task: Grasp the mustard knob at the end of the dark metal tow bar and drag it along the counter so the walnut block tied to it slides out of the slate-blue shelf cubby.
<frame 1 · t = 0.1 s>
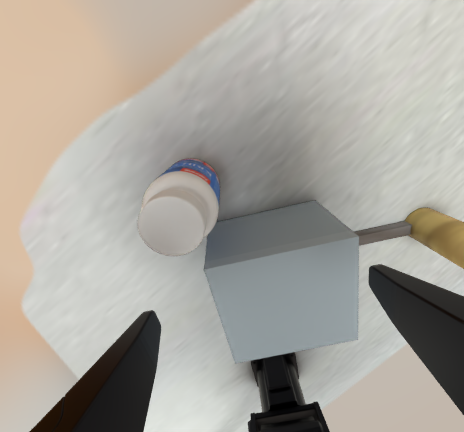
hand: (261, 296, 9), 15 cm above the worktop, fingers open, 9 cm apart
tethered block: (288, 250, 26), on the worktop
pill bottle: (192, 184, 22), on the worktop
shelf cubby: (275, 253, 26), on the worktop
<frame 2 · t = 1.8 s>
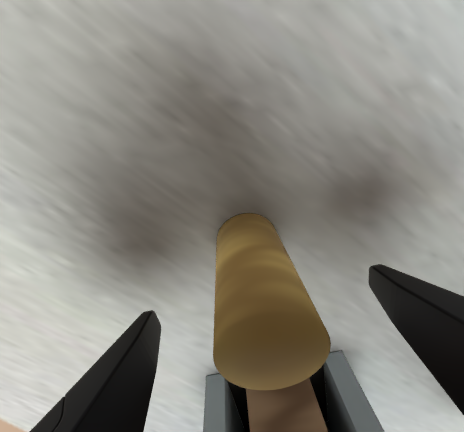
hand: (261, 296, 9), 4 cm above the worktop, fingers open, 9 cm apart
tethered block: (278, 389, 19), on the worktop
shelf cubby: (280, 399, 20), on the worktop
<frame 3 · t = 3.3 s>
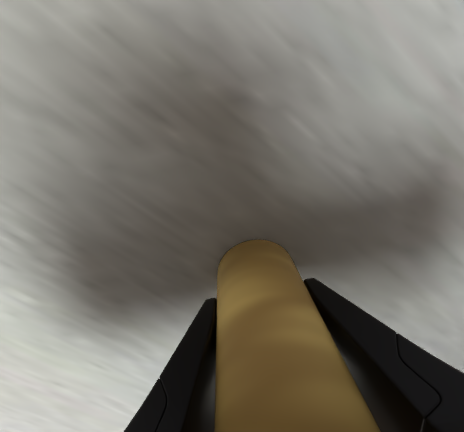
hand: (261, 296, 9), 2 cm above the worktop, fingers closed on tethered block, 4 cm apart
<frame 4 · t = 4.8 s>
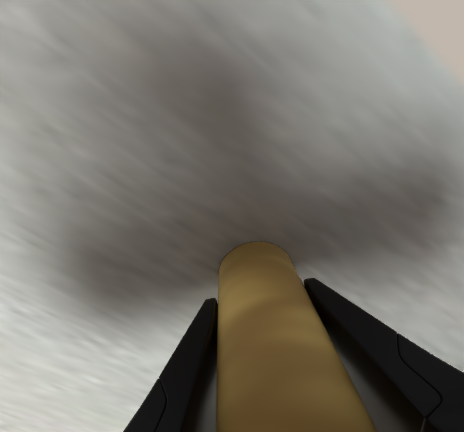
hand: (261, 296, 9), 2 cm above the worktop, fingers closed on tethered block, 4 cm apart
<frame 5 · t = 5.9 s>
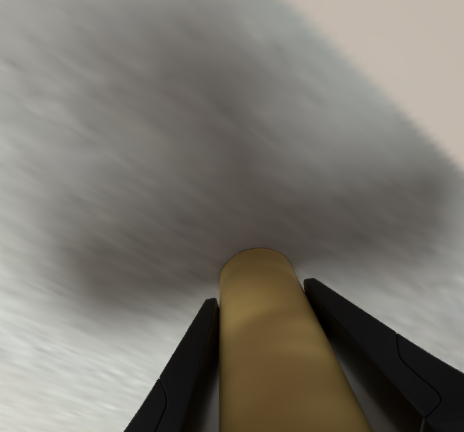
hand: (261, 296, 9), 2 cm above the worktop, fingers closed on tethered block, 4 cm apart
when the fingers open (2 cm above the worktop, at t = 6.5 s): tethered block stays where it is, on the worktop.
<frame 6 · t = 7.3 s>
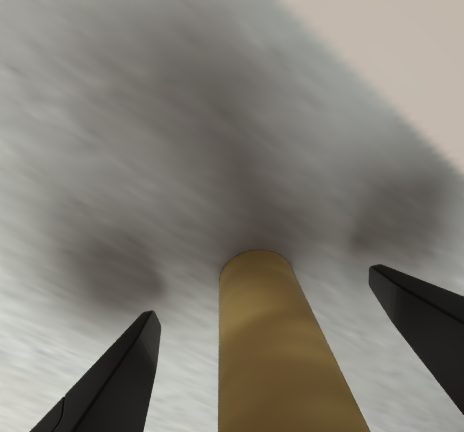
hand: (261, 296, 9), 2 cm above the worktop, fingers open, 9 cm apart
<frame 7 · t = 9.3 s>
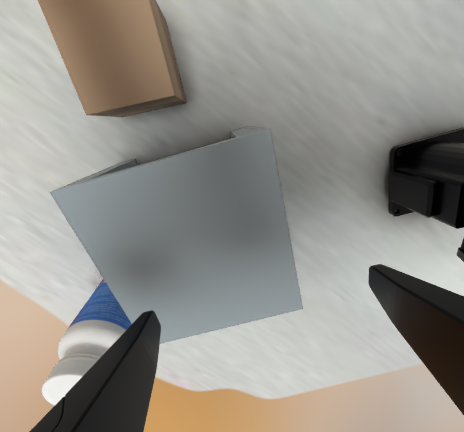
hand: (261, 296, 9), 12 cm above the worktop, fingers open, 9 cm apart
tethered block: (142, 71, 16), on the worktop
pill bottle: (131, 286, 23), on the worktop
shelf cubby: (201, 201, 20), on the worktop
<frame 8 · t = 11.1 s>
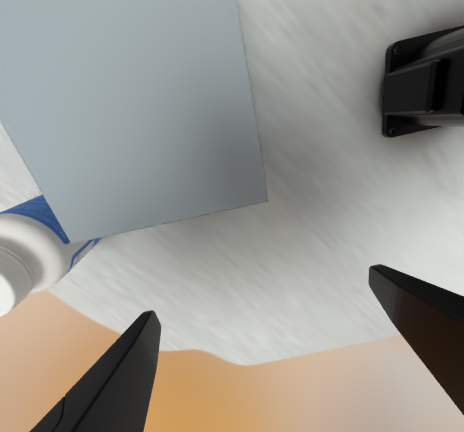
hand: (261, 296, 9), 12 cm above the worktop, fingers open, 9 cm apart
pill bottle: (83, 212, 20), on the worktop
shelf cubby: (163, 102, 17), on the worktop
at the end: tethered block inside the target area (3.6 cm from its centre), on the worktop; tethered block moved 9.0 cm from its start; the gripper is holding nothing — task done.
